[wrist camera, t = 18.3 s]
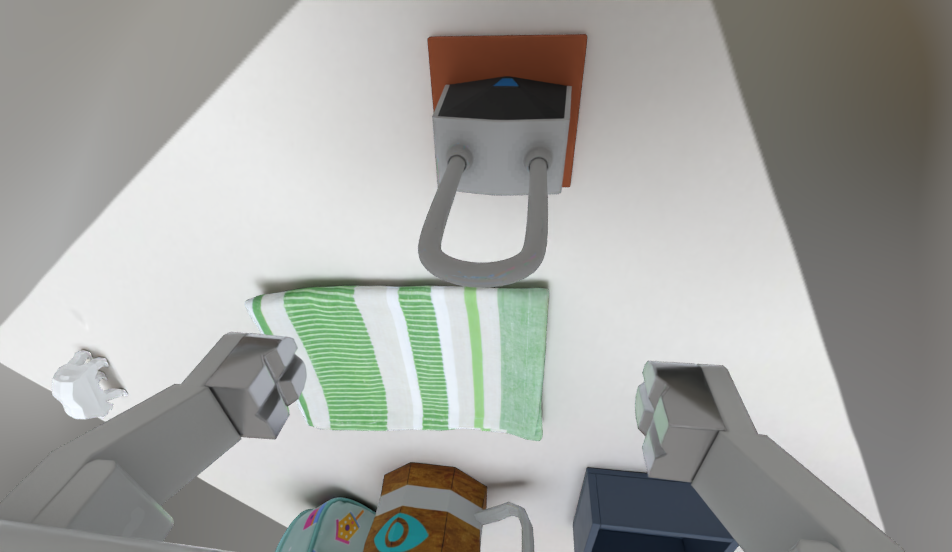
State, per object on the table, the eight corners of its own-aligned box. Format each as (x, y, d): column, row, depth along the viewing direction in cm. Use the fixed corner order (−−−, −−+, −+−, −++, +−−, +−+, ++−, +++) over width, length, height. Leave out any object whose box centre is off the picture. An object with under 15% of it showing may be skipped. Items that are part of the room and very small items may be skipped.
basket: (722, 480, 43) (743, 540, 38) (685, 536, 51) (700, 591, 47) (586, 467, 44) (592, 523, 40) (572, 523, 52) (575, 576, 48)
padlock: (449, 152, 25) (367, 330, 13) (444, 75, 22) (337, 206, 10) (563, 155, 24) (590, 346, 12) (572, 76, 21) (617, 219, 10)
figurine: (103, 351, 42) (62, 388, 38) (132, 399, 47) (97, 436, 43) (80, 346, 42) (36, 383, 38) (111, 394, 47) (74, 431, 43)
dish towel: (542, 425, 41) (542, 451, 39) (317, 411, 44) (306, 434, 42) (548, 281, 30) (549, 306, 28) (252, 276, 33) (232, 297, 31)
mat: (586, 34, 21) (587, 35, 20) (569, 183, 26) (570, 187, 25) (429, 36, 22) (427, 38, 21) (441, 180, 26) (439, 184, 26)
